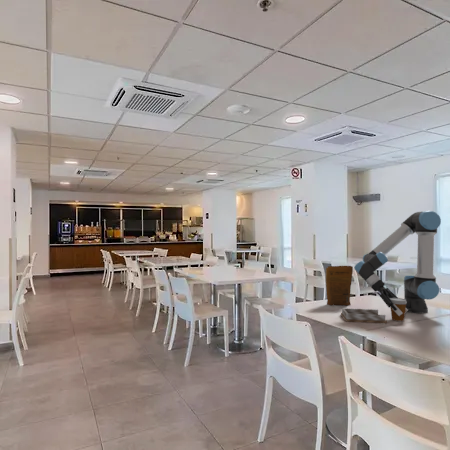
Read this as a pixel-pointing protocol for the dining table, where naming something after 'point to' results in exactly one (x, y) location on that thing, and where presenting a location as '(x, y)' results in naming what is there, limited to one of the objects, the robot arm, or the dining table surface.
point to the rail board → (362, 315)
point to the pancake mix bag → (338, 285)
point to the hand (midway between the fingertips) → (403, 313)
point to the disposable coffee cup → (401, 305)
